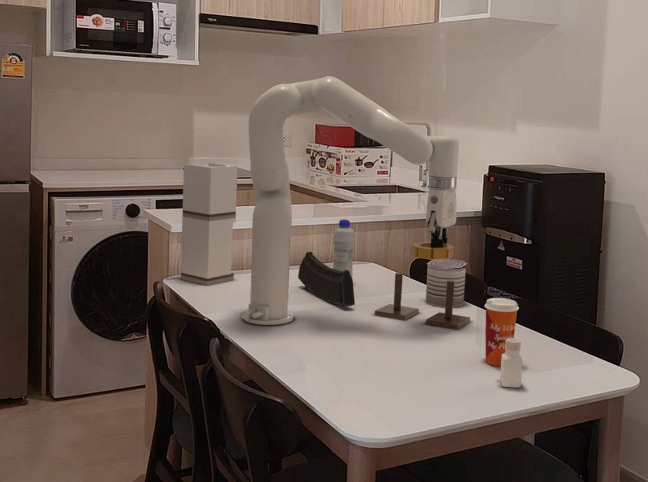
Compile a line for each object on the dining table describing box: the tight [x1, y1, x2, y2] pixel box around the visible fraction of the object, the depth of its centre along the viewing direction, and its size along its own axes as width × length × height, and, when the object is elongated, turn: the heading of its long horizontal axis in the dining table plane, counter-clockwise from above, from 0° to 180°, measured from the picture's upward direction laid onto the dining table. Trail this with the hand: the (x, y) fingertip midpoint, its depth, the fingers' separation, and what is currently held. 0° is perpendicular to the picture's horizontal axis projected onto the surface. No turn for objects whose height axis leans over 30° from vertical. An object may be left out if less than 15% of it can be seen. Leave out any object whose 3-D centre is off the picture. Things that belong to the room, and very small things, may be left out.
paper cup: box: [484, 297, 520, 367], centre depth 186 cm, size 8×8×14 cm
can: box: [425, 258, 468, 308], centre depth 238 cm, size 11×11×12 cm
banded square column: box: [180, 162, 238, 286], centre depth 249 cm, size 11×11×35 cm
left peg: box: [374, 272, 420, 321], centre depth 222 cm, size 9×9×11 cm
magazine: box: [297, 251, 356, 307], centre depth 235 cm, size 17×3×30 cm
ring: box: [410, 241, 455, 260], centre depth 212 cm, size 10×10×3 cm
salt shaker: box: [499, 337, 524, 388], centre depth 171 cm, size 4×4×10 cm
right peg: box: [425, 280, 471, 330], centre depth 216 cm, size 9×9×11 cm
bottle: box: [332, 218, 356, 278], centre depth 255 cm, size 7×7×20 cm
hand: (438, 252), depth 216 cm, fingers closed on ring, 2 cm apart
